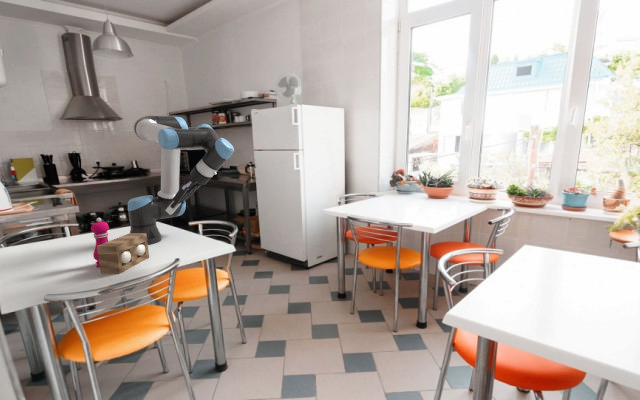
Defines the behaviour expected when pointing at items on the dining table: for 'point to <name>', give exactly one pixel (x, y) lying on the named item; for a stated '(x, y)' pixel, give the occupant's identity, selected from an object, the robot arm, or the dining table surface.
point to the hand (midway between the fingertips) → (168, 212)
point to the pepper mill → (99, 236)
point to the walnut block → (113, 248)
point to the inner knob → (140, 249)
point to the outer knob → (125, 256)
